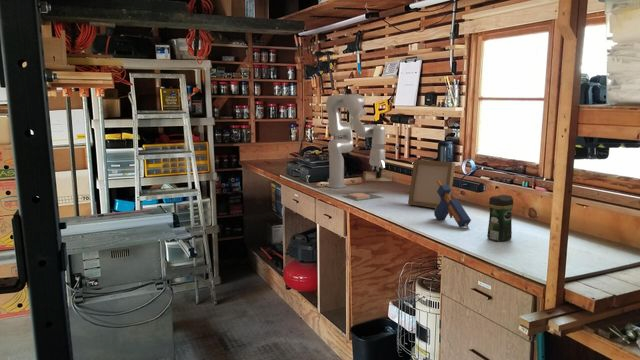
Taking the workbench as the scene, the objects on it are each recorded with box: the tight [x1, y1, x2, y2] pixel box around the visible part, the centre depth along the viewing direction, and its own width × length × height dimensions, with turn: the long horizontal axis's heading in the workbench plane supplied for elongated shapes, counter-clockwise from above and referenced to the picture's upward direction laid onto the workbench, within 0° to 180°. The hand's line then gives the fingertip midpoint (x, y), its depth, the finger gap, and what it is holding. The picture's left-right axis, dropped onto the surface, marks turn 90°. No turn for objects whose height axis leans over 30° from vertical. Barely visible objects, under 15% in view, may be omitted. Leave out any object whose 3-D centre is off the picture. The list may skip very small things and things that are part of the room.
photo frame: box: [407, 159, 456, 209], centre depth 266 cm, size 15×22×25 cm
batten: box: [362, 171, 394, 182], centre depth 295 cm, size 3×20×5 cm, turn 122°
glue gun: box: [433, 180, 472, 231], centre depth 232 cm, size 6×31×15 cm
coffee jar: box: [486, 194, 514, 242], centre depth 204 cm, size 10×8×19 cm
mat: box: [340, 192, 384, 202], centre depth 290 cm, size 16×20×1 cm
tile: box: [347, 192, 370, 199], centre depth 288 cm, size 9×2×9 cm
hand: (376, 177), depth 294 cm, fingers closed on batten, 3 cm apart
